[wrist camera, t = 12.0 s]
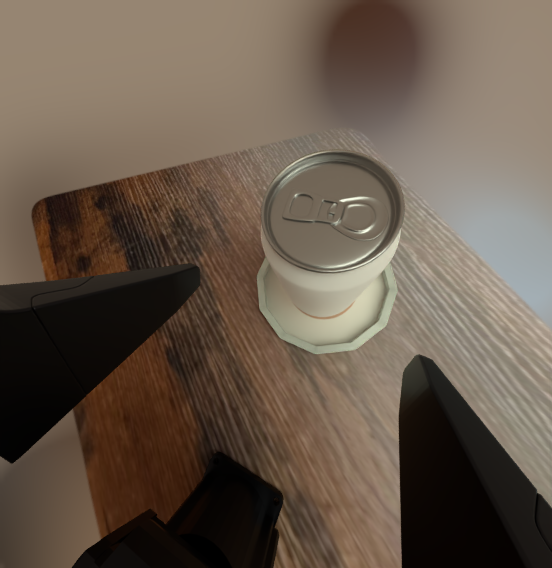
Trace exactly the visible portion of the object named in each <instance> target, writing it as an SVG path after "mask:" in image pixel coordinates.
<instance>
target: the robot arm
mask: <svg viewBox="0 0 552 568" xmlns="http://www.w3.org/2000/svg"><path fill="white" fill-rule="evenodd" d="M199 285H200V269H199V267H198V266H196V265H194V264H182V265H174V266H166V267H158V268H151V269H143V270H135V271H127V272H120V273H112V274H104V275H97V276H95V277H94V276H89V277H81V278H72V279H64V280H54V281H44V282H33V283H21V284H11V285H0V456H1V457H2V458H4V459H5V460H7V461H8V462H10V463H14V462H15V461H16V460H18V459H19V458H20V457H21V456H22V455H23V454H24V453H26V452H27V451H28V450H29V449H30V448H31V447H32V446H33V445H34V444H35V443H36V442H37V441H38V440H39V439H41V438H42V437H43V436H44V435H45V434H46V433H47V432H48V431H49V430H50V429H51V428H52V427H53V426H54V425H56V424H57V423H58V422H59V421H60V420H61V419H62V418H63V417H64V416H65V415H66V414H67V413H68V412H69V411H71V410H72V409H73V408H74V407H75V406H76V405H77V404H78V403H79V402H80V401H81V400H82V399H84V398H85V397H86V395H87V394H89V393H90V392H91V391H92V390H93V389H94V388H95V387H96V386H97V385H98V384H99V383H101V382H102V381H103V380H104V379H105V378H106V377H107V376H108V375H109V374H110V373H111V372H112V371H113V370H114V369H116V368H117V367H118V366H119V365H120V364H121V363H122V362H123V361H124V360H125V359H126V358H127V357H128V356H130V355H131V354H132V353H133V352H134V351H135V350H136V349H137V348H138V347H139V346H140V345H141V344H142V343H144V342H145V341H146V340H147V339H148V338H149V337H150V336H151V335H152V334H153V333H154V332H155V331H156V330H157V329H159V328H160V327H161V326H162V325H163V324H164V323H165V322H166V321H167V320H168V319H169V318H170V317H171V316H173V315H174V314H175V313H176V312H177V311H178V310H179V309H180V307H181V306H182V305H183V304H184V303H185V302H186V301H187V300H188V298H189V297H190V296H191V295H192V294H193V293H194V292H195V290H196V289H197V288H198V287H199ZM216 458H218V459H219V463H218V462H217V461H216ZM399 460H400V504H401V549H402V568H552V508H551V506H550V505H549V504H548V503H547V501H546V500H545V499H544V498H543V497H542V495H541V494H539V493H537V489H536V488H535V487H534V485H533V484H532V483H531V482H530V481H529V479H528V478H527V477H526V476H525V474H524V473H523V472H522V471H521V469H520V468H519V467H518V466H517V464H516V463H515V462H514V461H513V459H512V458H511V457H510V456H509V454H508V453H507V452H506V451H505V449H504V448H503V447H502V446H501V444H500V443H499V442H498V441H497V439H496V438H495V437H494V436H493V435H492V433H491V432H490V431H489V430H488V428H487V427H486V426H485V425H484V423H483V422H482V421H481V420H480V418H479V417H478V416H477V415H476V413H475V412H474V411H473V410H472V408H471V407H470V406H469V405H468V403H467V402H466V401H465V400H464V398H463V397H462V396H461V395H460V394H459V392H458V391H457V390H456V389H455V387H454V386H453V385H452V384H451V382H450V381H449V380H448V379H447V377H446V376H445V375H444V374H443V372H442V371H441V370H440V369H439V367H438V366H437V365H436V364H435V362H434V361H433V360H432V359H430V358H428V357H425V356H423V355H420V354H419V355H416V356H415V357H414V358H413V359H412V361H411V362H410V363H409V364H408V366H407V367H406V368H405V370H404V372H403V379H402V388H401V398H400V408H399ZM274 498H278V499H279V502H276V501H275V500H274ZM282 504H283V495H282V493H281V492H280V491H279V490H277V489H276V488H274V487H272V486H271V485H269V484H268V483H266V482H265V481H263V480H262V479H260V478H259V477H257V476H256V475H254V474H253V473H251V472H250V471H248V470H247V469H245V468H243V467H242V466H240V465H239V464H237V463H236V462H234V461H233V460H231V459H230V458H228V457H227V456H225V455H224V454H222V453H220V452H216V453H215V454H214V455H213V456H212V458H211V460H210V463H209V465H208V467H207V470H206V472H205V474H204V477H203V479H202V481H201V482H200V483H199V484H198V486H197V487H196V488H195V489H194V490H193V492H192V493H191V494H190V495H189V497H188V498H187V499H186V500H185V501H184V503H183V504H182V505H181V506H180V508H179V509H178V510H177V511H176V512H175V514H174V515H173V516H172V517H171V519H170V520H169V521H168V522H167V523H166V524H164V523H163V522H162V521H161V520H160V519H158V518H157V517H156V516H157V514H156V513H155V512H154V511H153V510H151V509H149V510H147V511H145V512H144V513H142V514H141V515H139V516H137V517H136V518H134V519H133V520H131V521H129V522H128V523H126V524H125V525H123V526H121V527H120V528H118V529H117V530H115V531H113V532H112V533H110V534H109V535H107V536H105V537H104V538H103V539H101V540H100V541H99V542H97V543H96V544H94V545H93V546H91V547H90V548H88V549H87V550H86V551H85V552H84V553H83V554H82V555H81V556H80V557H79V559H78V560H77V561H76V563H75V564H74V565H73V567H72V568H273V567H274V561H275V556H276V550H277V545H278V540H279V532H278V530H277V529H276V528H275V524H276V522H277V519H278V516H279V513H280V511H281V508H282Z"/></svg>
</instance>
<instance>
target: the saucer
mask: <svg viewBox="0 0 552 568" xmlns="http://www.w3.org/2000/svg"><path fill="white" fill-rule="evenodd" d="M257 286H258V297H259V308H260V311H261V312H262V313H263V315H264V316H265V318H266V319H267V320H268V322H269V323H270V325H271V326H272V327H273V329H274V330H275V332H276V333H277V334H278V336H279V337H280V339H283V340H285V341H287V342H289V343H291V344H294V345H296V346H298V347H300V348H303V349H305V350H307V351H309V352H311V353H314V354H323V353H332V352H341V351H350V350H356V349H357V348H358V347H360V346H361V345H362V344H363V343H365V342H366V341H367V340H368V339H370V338H371V337H372V336H374V335H375V334H376V333H377V332H379V331H380V330H381V329H383V328H384V327H385V326H386V324H387V321H388V318H389V315H390V312H391V309H392V306H393V303H394V300H395V297H396V294H397V291H398V289H397V285H396V282H395V278H394V274H393V271H392V267H391V264H390V262H389V264H388V265H387V266H386V268H385V269H384V270H383V271H382V272H381V274H380V275H379V276H378V277H377V278H376V279H375V280H374V281H373V282H372V283H371V284H370V285H369V286H368V287H367V289H366V290H365V291H364V292H363V293H362V294H361V295H360V296H359V297H358V298H357V299H356V300H355V301H354V302H353V303H352V304H351V305H350V306H349V307H348V308H346V309H345V310H344V311H342V312H341V313H339V314H336V315H333V316H329V317H316V316H312V315H309V314H307V313H305V312H303V311H301V310H300V309H299V308H298V307H296V305H295V304H294V303H293V302H292V301H291V299H290V297H289V296H288V294H287V293H286V291H285V289H284V288H283V286H282V284H281V283H280V281H279V279H278V278H277V276H276V274H275V273H274V271H273V269H272V267H271V266H270V264H269V262H268V260H267V258H266V257H265V259H264V261H263V264H262V266H261V268H260V270H259V272H258V275H257Z"/></svg>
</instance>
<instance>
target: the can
mask: <svg viewBox="0 0 552 568" xmlns="http://www.w3.org/2000/svg"><path fill="white" fill-rule="evenodd" d="M404 212H405V203H404V197H403V193H402V190H401V187H400V185H399V183H398V181H397V180H396V178H395V177H394V175H393V174H392V173H391V172H390V171H389V170H388V169H387V168H386V167H385V166H384V165H383V164H381V163H380V162H379V161H377V160H375V159H374V158H372V157H370V156H367V155H365V154H362V153H359V152H355V151H350V150H338V149H335V150H324V151H319V152H314V153H311V154H308V155H306V156H303V157H301V158H299V159H297V160H295V161H293V162H292V163H290V164H289V165H288V166H286V167H285V168H284V169H283V170H281V171H280V172H279V173H278V174H277V176H276V177H275V178H274V179H273V181H272V182H271V183H270V185H269V187H268V189H267V191H266V193H265V195H264V198H263V202H262V206H261V223H262V224H261V242H262V246H263V250H264V253H265V255H266V258H267V260H268V262H269V264H270V266H271V267H272V269H273V271H274V273H275V274H276V276H277V278H278V279H279V281H280V283H281V284H282V286H283V288H284V289H285V291H286V293H287V294H288V296H289V297H290V299H291V301H292V302H293V303H294V304H295V305H296V307H298V308H299V309H300V310H301V311H303V312H305V313H307V314H309V315H312V316H316V317H329V316H333V315H336V314H339V313H341V312H342V311H344V310H345V309H346V308H348V307H349V306H350V305H351V304H352V303H353V302H354V301H355V300H356V299H357V298H358V297H359V296H360V295H361V294H362V293H363V292H364V291H365V290H366V289H367V287H368V286H369V285H370V284H371V283H372V282H373V281H374V280H375V279H376V278H377V277H378V276H379V275H380V274H381V272H382V271H383V270H384V269H385V268H386V266H387V265H388V264H389V262H390V261H391V259H392V257H393V255H394V253H395V251H396V249H397V246H398V243H399V239H400V232H401V226H402V223H403V219H404Z"/></svg>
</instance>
